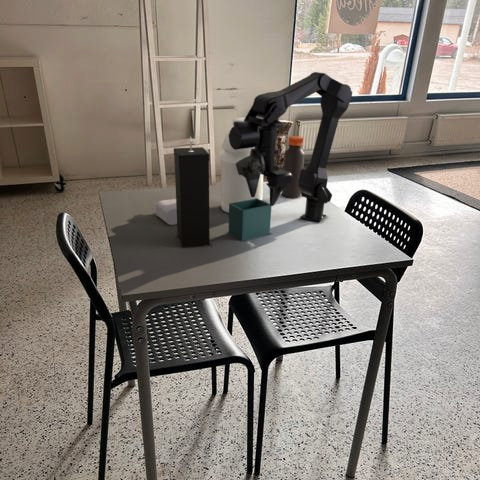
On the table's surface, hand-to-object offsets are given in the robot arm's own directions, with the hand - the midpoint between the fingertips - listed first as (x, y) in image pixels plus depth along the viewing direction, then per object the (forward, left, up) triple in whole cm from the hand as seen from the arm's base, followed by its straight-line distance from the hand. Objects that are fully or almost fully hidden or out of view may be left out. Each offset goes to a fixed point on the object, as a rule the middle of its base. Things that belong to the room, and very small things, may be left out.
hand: (262, 201), depth 144 cm
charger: (+3, -30, -9) cm, 31 cm away
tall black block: (+17, -13, -9) cm, 23 cm away
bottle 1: (-15, -14, -9) cm, 22 cm away
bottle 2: (-37, -5, -9) cm, 38 cm away
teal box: (+4, -2, -5) cm, 6 cm away
